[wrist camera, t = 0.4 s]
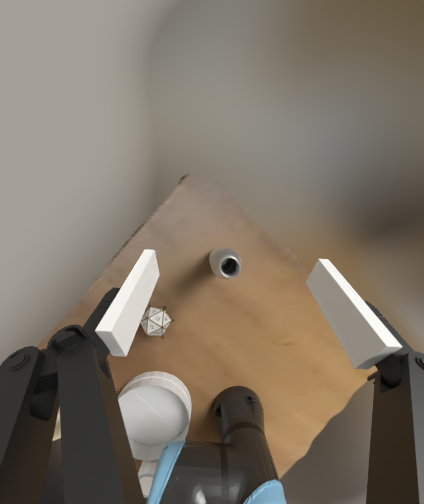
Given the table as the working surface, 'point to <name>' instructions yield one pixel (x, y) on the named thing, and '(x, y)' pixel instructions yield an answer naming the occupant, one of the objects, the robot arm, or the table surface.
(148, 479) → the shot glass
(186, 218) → the table surface
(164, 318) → the game die
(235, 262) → the plastic bottle
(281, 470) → the table surface
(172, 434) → the dish
